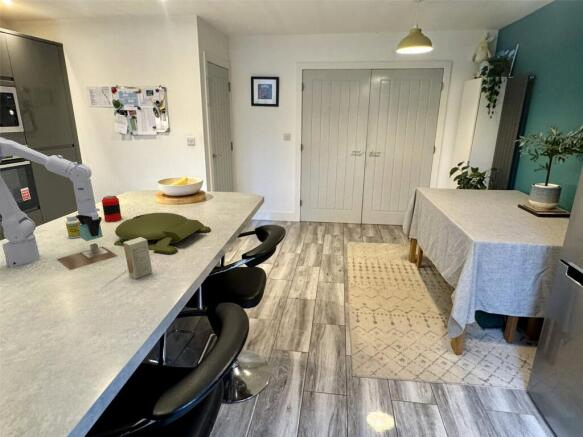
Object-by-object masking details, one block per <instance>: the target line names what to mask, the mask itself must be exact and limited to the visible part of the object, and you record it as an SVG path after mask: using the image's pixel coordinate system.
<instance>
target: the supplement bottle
mask: <svg viewBox="0 0 583 437" xmlns="http://www.w3.org/2000/svg"><path fill="white" fill-rule="evenodd" d="M76 215H77V214H68V215H66V216H65V217H66V218H65V219H66V221H65V226H66V230H67V234H68V238H70V239H77V238H81V236H80V232H79V227H78V226H79V225H81V223H80V221H79V220H78V219H77V218H76Z"/></svg>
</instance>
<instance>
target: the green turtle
mask: <svg viewBox="0 0 583 437" xmlns="http://www.w3.org/2000/svg"><path fill="white" fill-rule="evenodd" d="M211 231H212V229H211V227H210V226H205V225H204V224H203V223H202V222H201V221H199V220H198V219H190V218H187V217H185V216H184V215H181V214H178V213H173V212H152V213H145V214H140V215H136V216H134V217H132V218H129V219H126V220H123V221H122V222H121V223H120V224H119V225H117V227H116V229H115V231H114V234H115V236H116V237H118V238H120V239H119V240H118V239H117V241H114V243H113V245H114V246H117V247H124V243H123V242H126V241H129V240H132V239H136V238H139V237H142V238H144V239H147V241H149V240H152V241H153V240H158V241H157V242H156V243H151V242H150V243H149V242H147V243H148V249H149V251H152V252H153V253H157V254H158V253H159V254H163V255H164V254H165V255H173V254H175V253H177V252H178V248H177V247H176V246H172V245H171V244H175V245H176V244H178V243H179V242H180V241H182V240H184V239H186V238H188V237H189V236H191V235H192V234H194V233H203V234H204V233H205V234H207V233H209V232H211Z"/></svg>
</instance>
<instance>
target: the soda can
mask: <svg viewBox="0 0 583 437" xmlns="http://www.w3.org/2000/svg"><path fill="white" fill-rule="evenodd" d="M101 205H102V212H103V216H104V218H103V219H104V221H105V222H106V223H116V222H120V221H122V217H123V216H122V213H121V212H122V211H121V205H120V199H119V198H118V196H116V195H106V196H104V197H103V198H102V199H101Z"/></svg>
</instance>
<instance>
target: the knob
mask: <svg viewBox="0 0 583 437" xmlns="http://www.w3.org/2000/svg"><path fill="white" fill-rule="evenodd" d="M78 227H79V232H80V236H81V237H80V238H81V239H82V240H84V241H85V242H89V241H93V240H97V239H100V238H103V236H104V235H103V232H102V231H103V230H102V227H101V225H100V226H99V234H98V236H95V237H92V236H91V234H90V231H89V228H88V226H87V225H86V224H83V225H79V226H78Z"/></svg>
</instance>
